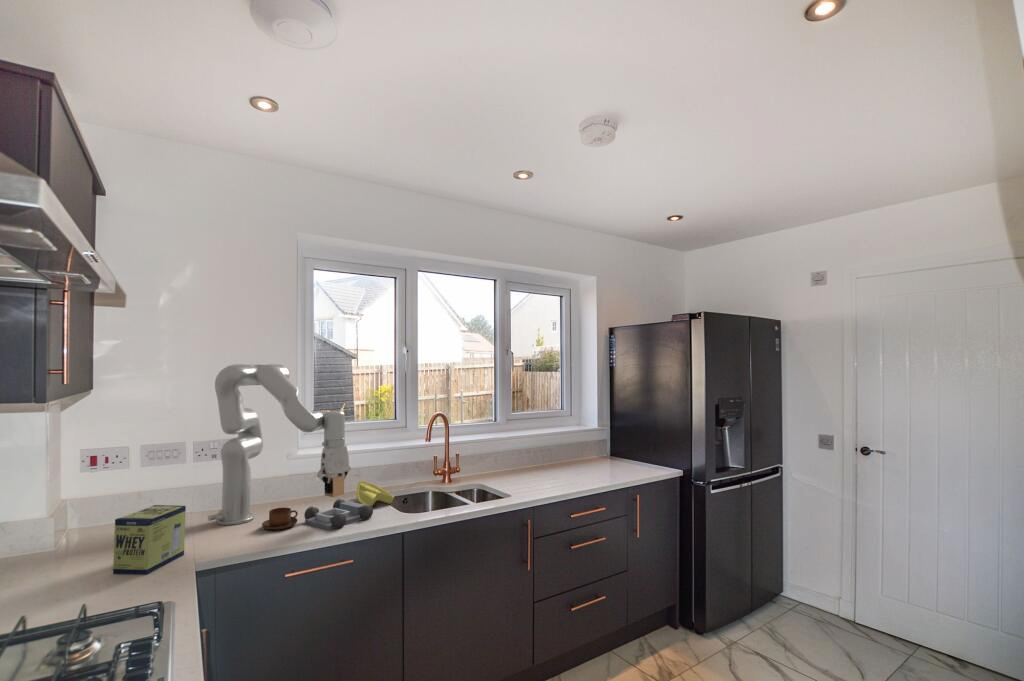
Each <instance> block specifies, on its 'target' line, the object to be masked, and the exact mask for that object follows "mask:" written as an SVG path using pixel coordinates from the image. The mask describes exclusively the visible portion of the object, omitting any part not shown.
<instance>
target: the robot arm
mask: <svg viewBox="0 0 1024 681" xmlns="http://www.w3.org/2000/svg"><path fill="white" fill-rule="evenodd" d="M245 386H262V387H263V388H264V389H265V391H267V392H268V393H269V394H271V395H272V397H273V398H274V399H275V400H277V402H279V404H280V406H281V408H282V411H283V413H284V415H285V417H286V418H287V419H288V420H289V422H291V424H293V425H294V426H295V428H297V429H298V430H300V431H301V432H304V433H313V432H316V431H320V430H323V434H324V435H323V437H324V438H323V442H322V443H321V445H322V446H323V448H322V451H321V456H320V457H321V458H320V470H319V471H318V472H317V474H316V476H317V478H319V479H320V480H321V481H322V482H323V483H324V494H325V493H328V494H331V483H330V481H331V476H332V475H335V474H336V475H342V476H344V480H346V478H347V475H348V474H349V472H350V471H351V468H352V467H351V466H350V461H349V460H350V457H349V452H348V447H347V445H346V444H345V443H346V442H345V440H346V439H345V438H346V432H345V431H346V430H345V428H346V425H345V421H346V419H345V418H346V417H345V412H344V411H341V410H333V411H332V410H331V411H327V410H326V411H325V410H314V411H309V410H308V409H307V408H306V407H305V405H303V403H302V402H301V400H300V399H299V392H300V390H299V387H298V386H297V385H296V384H295V383H293V381H292V380H291V379H290V372H289V370H288V368H287V367H286V366H285V365H282V364H275V363H274V364H273V363H271V364H270V363H269V364H242V363H241V364H239V363H238V364H230V365H228V366H226V367H224V368H222V369H221V370H220V371H219V372H218V373H217V375H216V378H215V381H214V390H215V394H216V398H217V404H218V405H217V406H218V411H219V412H218V413H219V419H220V426H221V430H222V432H223V433H225V434H226V435H237V436H238V437H232V438H230V439H228V440H227V441H226V442H225V443H224V444H223V445H222V447H221V450H220V460H221V465H222V492H221V493H222V494H221V496H222V497H221V498H222V499H221V509H219V510H218V512H217V513H216V514H210V515H208V516H207V520H208V521H209V522H211V521H214V520H215V521H216V524H218V525H224V526H230V525H231V526H232V525H240V524H244V523H247V522H250V521H252V520H254V518H255V514H254V513H252V512H250V511H251V482H252V481H251V480H252V479H251V478H252V477H251V476H252V472H251V466H250V463H249V460H250V459H254V458H256V457H257V456H259V455H260V454H261V453H262V450H263V448H264V440H263V433H262V426H261V425H262V424H261V420H260V417H259V414H258V412H256V411H255V410H253V409H252V408H248V407H245V406H244V398H243V395H242V393H241V391H240V389H239V387H245ZM327 477H328V478H327Z"/></svg>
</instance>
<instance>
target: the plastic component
mask: <svg viewBox="0 0 1024 681" xmlns="http://www.w3.org/2000/svg"><path fill="white" fill-rule="evenodd" d="M394 498H395V496H394V495H392V494H390V493H389V492H388V491H386V490H384V489H383V488H381V487H379V486H377V485H375V484H372V483H370V482H367V481H365V480H359V481H358V484H357V488H356V499H357V501H358V503H359V504H364V505H370V506H372V507H373V505H374V504H375V503H376V502H379V501H380V502H383V503H385V504H388V505H390V504H392V503H393V500H394Z"/></svg>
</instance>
